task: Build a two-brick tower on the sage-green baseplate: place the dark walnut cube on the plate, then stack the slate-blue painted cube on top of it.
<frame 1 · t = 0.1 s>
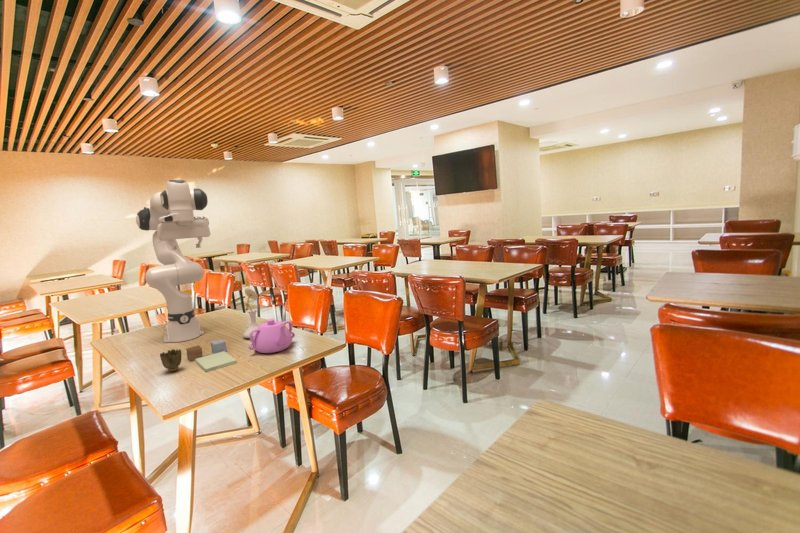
hand: (186, 248, 164), 48 cm above the table, fingers open, 8 cm apart
flower in vase: (254, 336, 190), on the table
walnut block: (195, 358, 163), on the table
dark brown round piece: (173, 371, 151), on the table
teapot: (276, 350, 169), on the table
slate block: (219, 352, 170), on the table
base plate: (215, 362, 158), on the table
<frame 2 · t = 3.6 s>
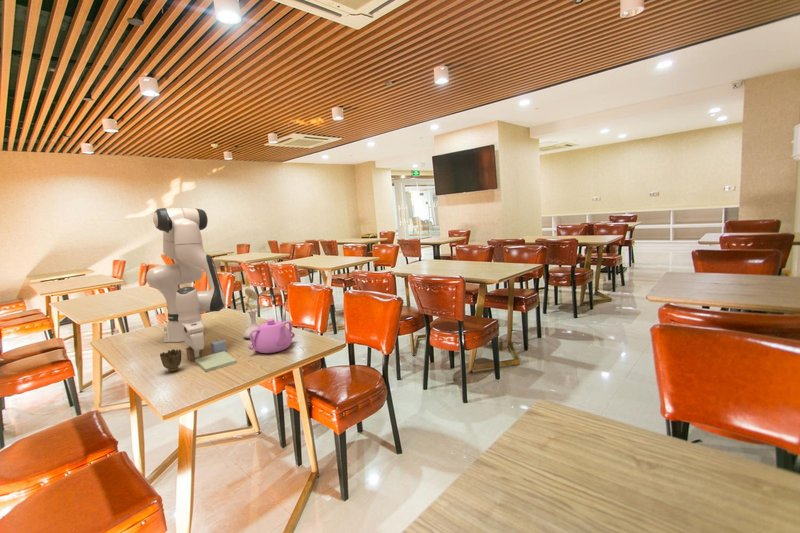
hand: (194, 355, 163), 2 cm above the table, fingers closed on walnut block, 5 cm apart
walnut block: (195, 358, 163), on the table, touching gripper
everything else where it was.
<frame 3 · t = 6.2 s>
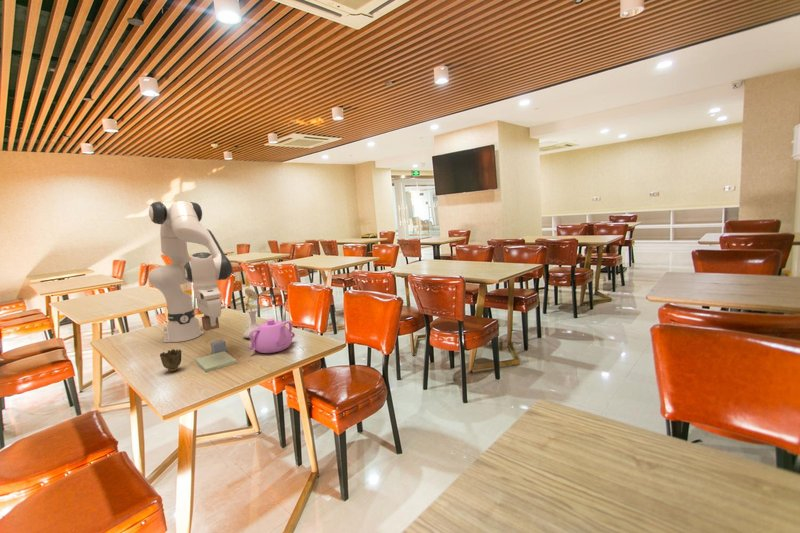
hand: (210, 324, 155), 17 cm above the table, fingers closed on walnut block, 5 cm apart
walnut block: (211, 328, 155), point 15 cm above the table, touching gripper
everything else where it was.
when the fingers open (4 cm above the table, at t = 8.8 s): walnut block drops 1 cm, resting on base plate.
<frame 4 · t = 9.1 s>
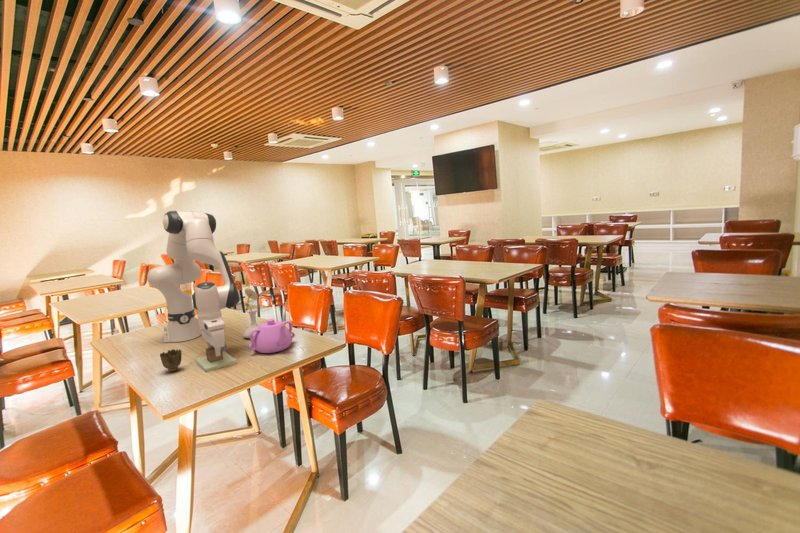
hand: (214, 353, 157), 4 cm above the table, fingers open, 8 cm apart
walnut block: (215, 359, 157), point 1 cm above the table, touching base plate
everything else where it was.
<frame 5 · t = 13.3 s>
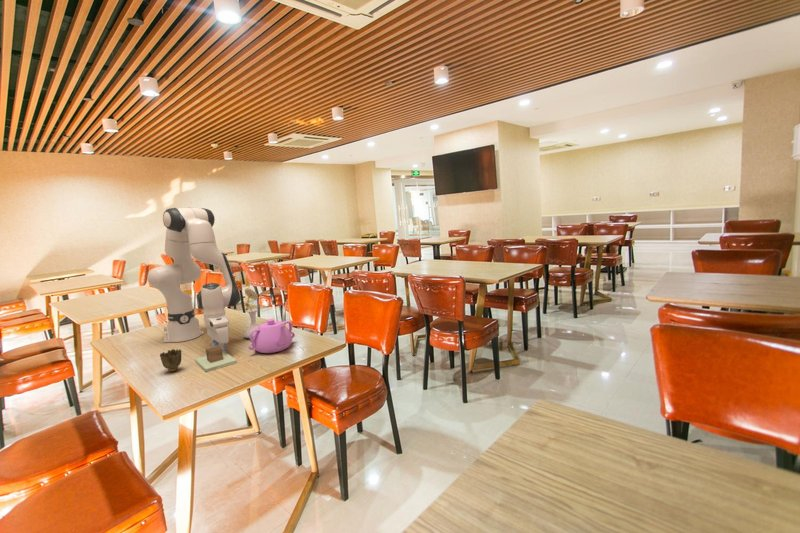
hand: (219, 348, 169), 2 cm above the table, fingers closed on slate block, 5 cm apart
slate block: (219, 352, 170), on the table, touching gripper
everything else where it was.
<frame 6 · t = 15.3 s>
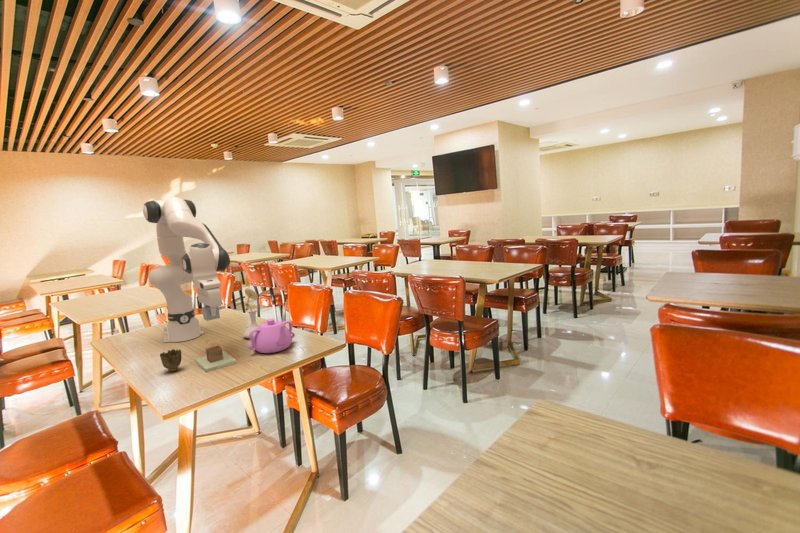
hand: (211, 314, 156), 20 cm above the table, fingers closed on slate block, 5 cm apart
slate block: (211, 318, 156), point 19 cm above the table, touching gripper
everything else where it was.
when the fingers open (9 cm above the table, at t = 17.7 s): slate block drops 1 cm, resting on walnut block.
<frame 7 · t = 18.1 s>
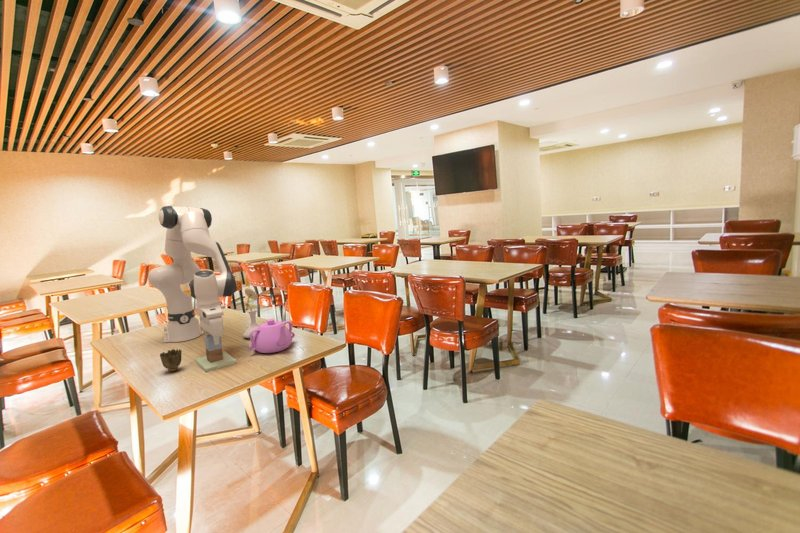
hand: (213, 341, 156), 9 cm above the table, fingers open, 8 cm apart
walnut block: (215, 359, 157), point 1 cm above the table, touching base plate, slate block
slate block: (213, 348, 157), point 6 cm above the table, touching walnut block
everything else where it was.
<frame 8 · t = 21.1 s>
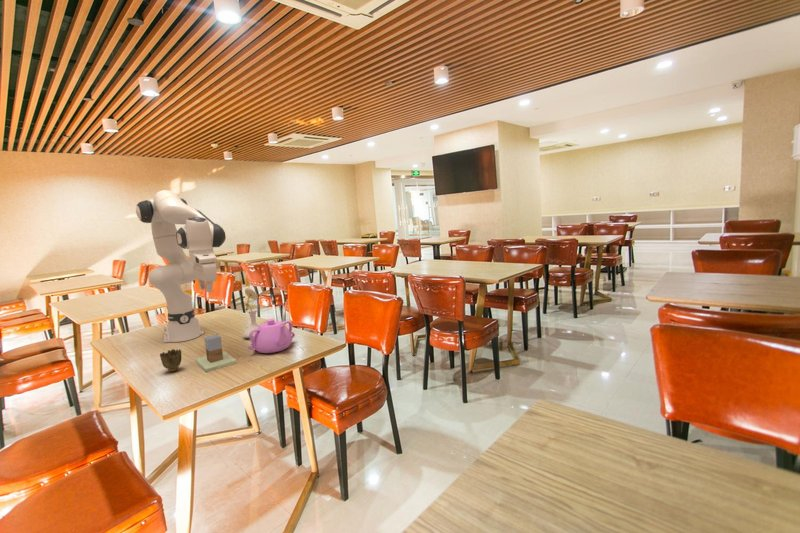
hand: (206, 290, 153), 31 cm above the table, fingers open, 8 cm apart
nothing on the table moved.
at the end: walnut block inside the target area on the base plate (0.1 cm from its centre), point 1.2 cm above the base plate's base; slate block 0.1 cm off-centre on the walnut block, point 5.0 cm above the walnut block's base; slate block tilted 0° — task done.
